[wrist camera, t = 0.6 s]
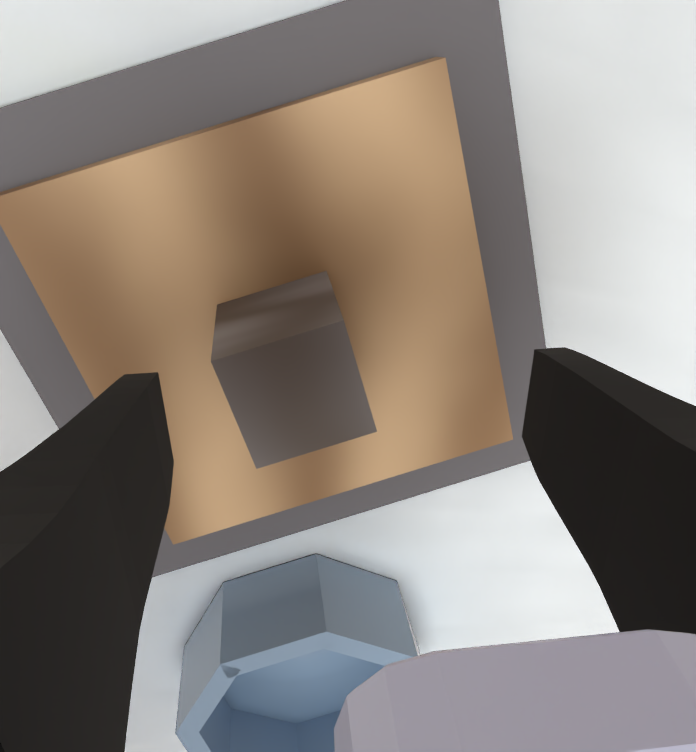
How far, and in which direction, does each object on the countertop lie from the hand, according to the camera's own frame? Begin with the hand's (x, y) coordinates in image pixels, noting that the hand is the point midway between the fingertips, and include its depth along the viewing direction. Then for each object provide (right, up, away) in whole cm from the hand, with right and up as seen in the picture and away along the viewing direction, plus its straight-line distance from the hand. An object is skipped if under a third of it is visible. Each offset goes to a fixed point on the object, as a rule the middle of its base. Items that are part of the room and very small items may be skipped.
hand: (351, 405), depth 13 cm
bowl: (-2, -11, +17) cm, 20 cm away
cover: (-2, +2, +9) cm, 10 cm away
